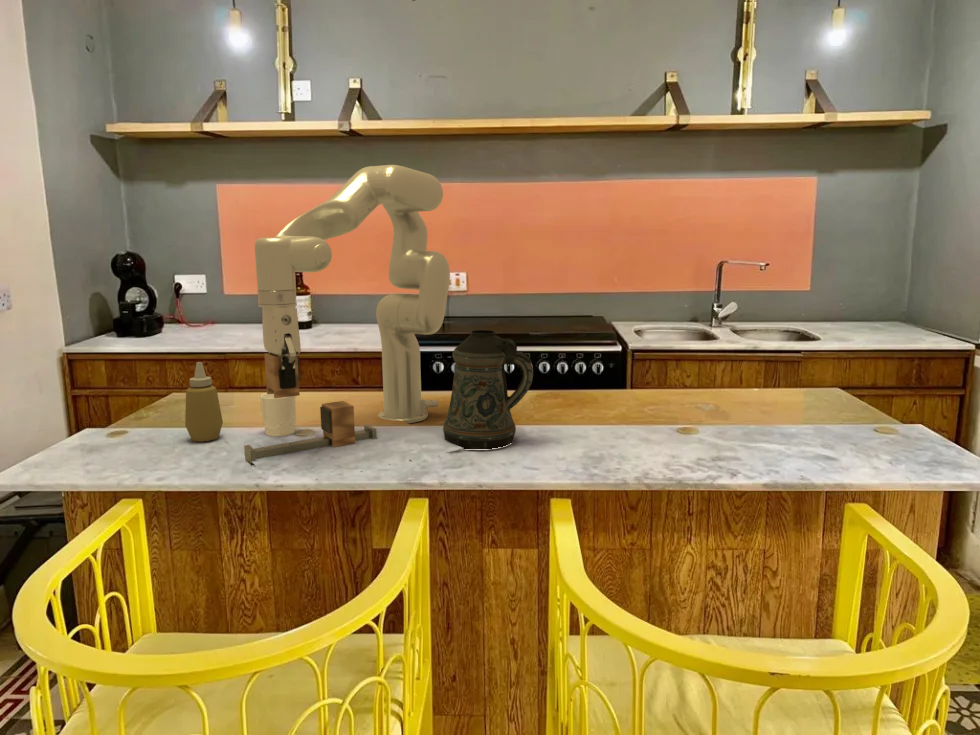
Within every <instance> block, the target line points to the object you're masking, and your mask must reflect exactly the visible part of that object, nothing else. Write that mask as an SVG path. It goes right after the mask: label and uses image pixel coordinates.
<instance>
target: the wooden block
mask: <svg viewBox="0 0 980 735" xmlns="http://www.w3.org/2000/svg"><path fill="white" fill-rule="evenodd" d="M319 410H320V428H321V430H322V432H323V437H325V436H327V437H328V438H330V439H332V445H331V446H332V447H333V448H336V447H337V448H338V447H343V446H347V445H354V444H356V441H355V431H356V429H355V408H354V405H353V404H351V403H349V402H347V401H344V400H340V401H333V402H325V403H321V406H320V407H319Z"/></svg>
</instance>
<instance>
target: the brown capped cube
mask: <svg viewBox="0 0 980 735" xmlns="http://www.w3.org/2000/svg"><path fill="white" fill-rule="evenodd" d="M282 354H287V352H282ZM263 357H264V368H265V369H264V370H265V383H266V384H265V385H266V387H265V388H266V393H267V394H274V398H283V397H291V396H296V397H297V396H300V382H299V381H302V380H301V379H302V378H301V362H300V356H298V354H296V357H295V376H296V387H295V388H288V389H281V388H280V381H279V370H281V368H280V363H279V357H278V355H275V354H272V353H268V352H267V353H264V356H263ZM285 358H287V357H285ZM285 358H283V360H285Z"/></svg>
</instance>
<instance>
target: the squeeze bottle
mask: <svg viewBox="0 0 980 735" xmlns="http://www.w3.org/2000/svg"><path fill="white" fill-rule="evenodd" d="M188 381H189V387H188V388H187V389H186V390H185V412H184V413H185V415H184V420H185V422H184V424H185V425H184V426H185V428H186V430H187V432H188V435H189V436H190V440H191V441H192V442H197V441H198V442H201V443H202V442H204V441H206V442H210V440H211V441H215V440H217V439H219V437H220V434H221V430H222V426H223V423H224V422H223V415H222V411H221V406H220V404H221V403H220V400H219V396H218V395H219V394H218V388H216V387H215V386H214V385H213V381H212V377H211V376H209V375H208V376H207V374H206V372H205V368H204V365H203V361H198V362H197V361H196V363H195V369H194V377H191V378H189V380H188ZM214 439H215V440H214Z"/></svg>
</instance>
